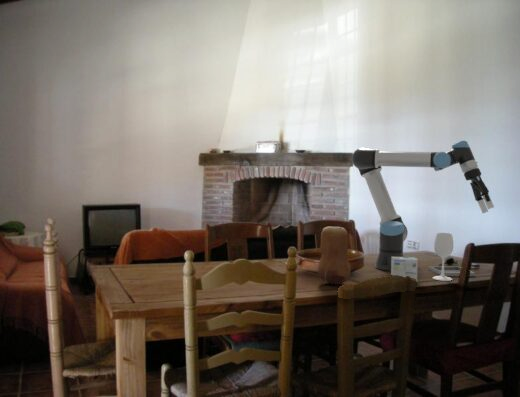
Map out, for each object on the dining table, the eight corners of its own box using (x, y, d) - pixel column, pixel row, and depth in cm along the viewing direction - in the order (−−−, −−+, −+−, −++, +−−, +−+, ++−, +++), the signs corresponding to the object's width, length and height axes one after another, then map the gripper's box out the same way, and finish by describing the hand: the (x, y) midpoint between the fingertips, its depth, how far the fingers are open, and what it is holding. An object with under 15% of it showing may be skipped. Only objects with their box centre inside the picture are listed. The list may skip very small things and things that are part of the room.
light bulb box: (414, 280, 221) (415, 256, 220) (417, 283, 214) (418, 259, 214) (390, 279, 222) (390, 255, 221) (392, 282, 215) (393, 258, 215)
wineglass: (428, 277, 227) (430, 232, 226) (442, 276, 230) (444, 232, 229) (442, 281, 219) (444, 235, 218) (456, 280, 222) (458, 234, 221)
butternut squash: (340, 279, 219) (341, 224, 217) (355, 286, 206) (357, 227, 205) (312, 281, 214) (313, 224, 213) (326, 288, 201) (328, 228, 200)
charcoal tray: (442, 276, 230) (442, 272, 230) (428, 269, 246) (428, 266, 246) (475, 276, 231) (475, 272, 231) (458, 269, 247) (458, 266, 247)
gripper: (483, 161, 230) (502, 203, 225) (474, 173, 254) (490, 211, 249) (467, 167, 231) (485, 208, 226) (459, 178, 255) (475, 216, 250)
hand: (488, 210), depth 237 cm, fingers open, 13 cm apart
